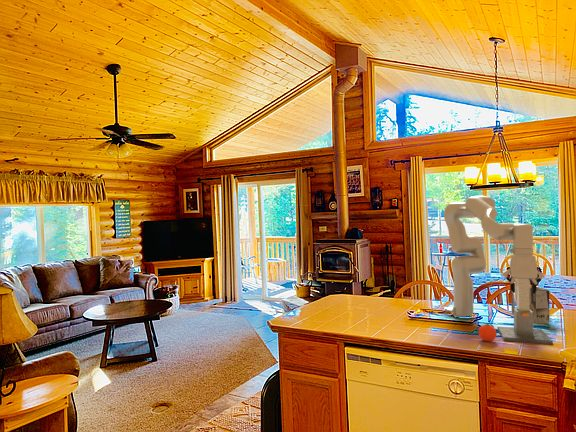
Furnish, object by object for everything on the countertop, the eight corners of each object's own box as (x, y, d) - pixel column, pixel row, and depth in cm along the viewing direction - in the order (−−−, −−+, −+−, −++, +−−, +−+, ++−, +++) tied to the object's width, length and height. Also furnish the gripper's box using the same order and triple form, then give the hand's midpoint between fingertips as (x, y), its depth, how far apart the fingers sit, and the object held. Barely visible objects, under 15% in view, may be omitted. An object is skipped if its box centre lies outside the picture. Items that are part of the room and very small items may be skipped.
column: (518, 319, 185) (518, 275, 185) (517, 317, 189) (516, 274, 189) (529, 320, 183) (529, 275, 183) (527, 318, 187) (527, 274, 187)
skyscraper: (527, 313, 231) (526, 261, 231) (534, 316, 223) (533, 263, 223) (510, 312, 232) (510, 261, 232) (517, 316, 224) (517, 263, 224)
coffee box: (550, 323, 207) (549, 290, 207) (535, 323, 209) (535, 290, 209) (542, 319, 216) (542, 287, 216) (529, 318, 218) (528, 287, 217)
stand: (504, 340, 180) (503, 313, 180) (497, 329, 198) (497, 304, 197) (552, 344, 175) (552, 316, 175) (541, 332, 192) (541, 307, 192)
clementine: (477, 337, 185) (477, 321, 185) (494, 338, 183) (494, 322, 183) (479, 342, 178) (479, 325, 178) (498, 344, 176) (498, 326, 176)
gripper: (502, 252, 185) (502, 293, 185) (548, 253, 180) (548, 295, 180) (499, 251, 192) (499, 290, 192) (543, 251, 187) (543, 292, 187)
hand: (523, 292), depth 186 cm, fingers open, 7 cm apart
